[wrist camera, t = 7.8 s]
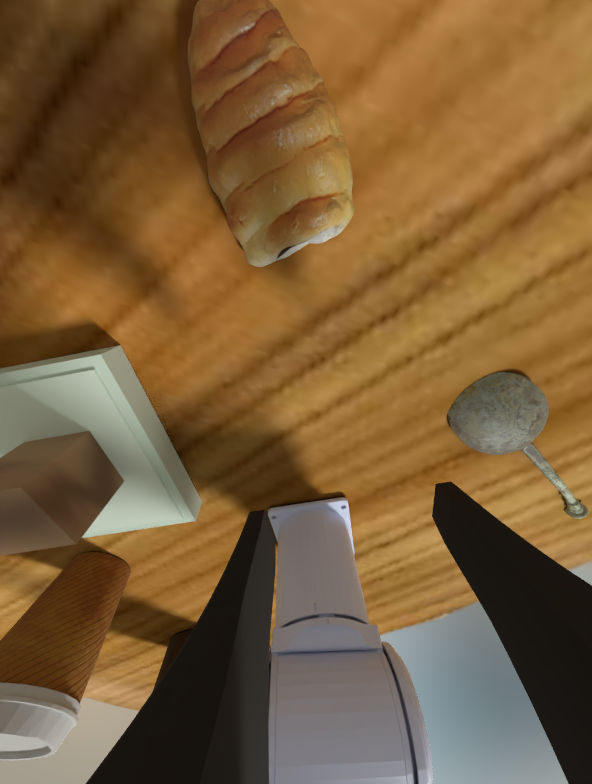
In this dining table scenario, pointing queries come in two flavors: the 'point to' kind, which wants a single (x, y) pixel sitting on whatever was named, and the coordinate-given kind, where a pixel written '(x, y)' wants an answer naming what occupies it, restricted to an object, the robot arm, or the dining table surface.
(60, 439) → the walnut block
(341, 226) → the pastry
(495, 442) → the soupspoon
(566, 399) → the dining table surface
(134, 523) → the serving board
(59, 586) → the disposable coffee cup
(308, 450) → the dining table surface
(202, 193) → the dining table surface
